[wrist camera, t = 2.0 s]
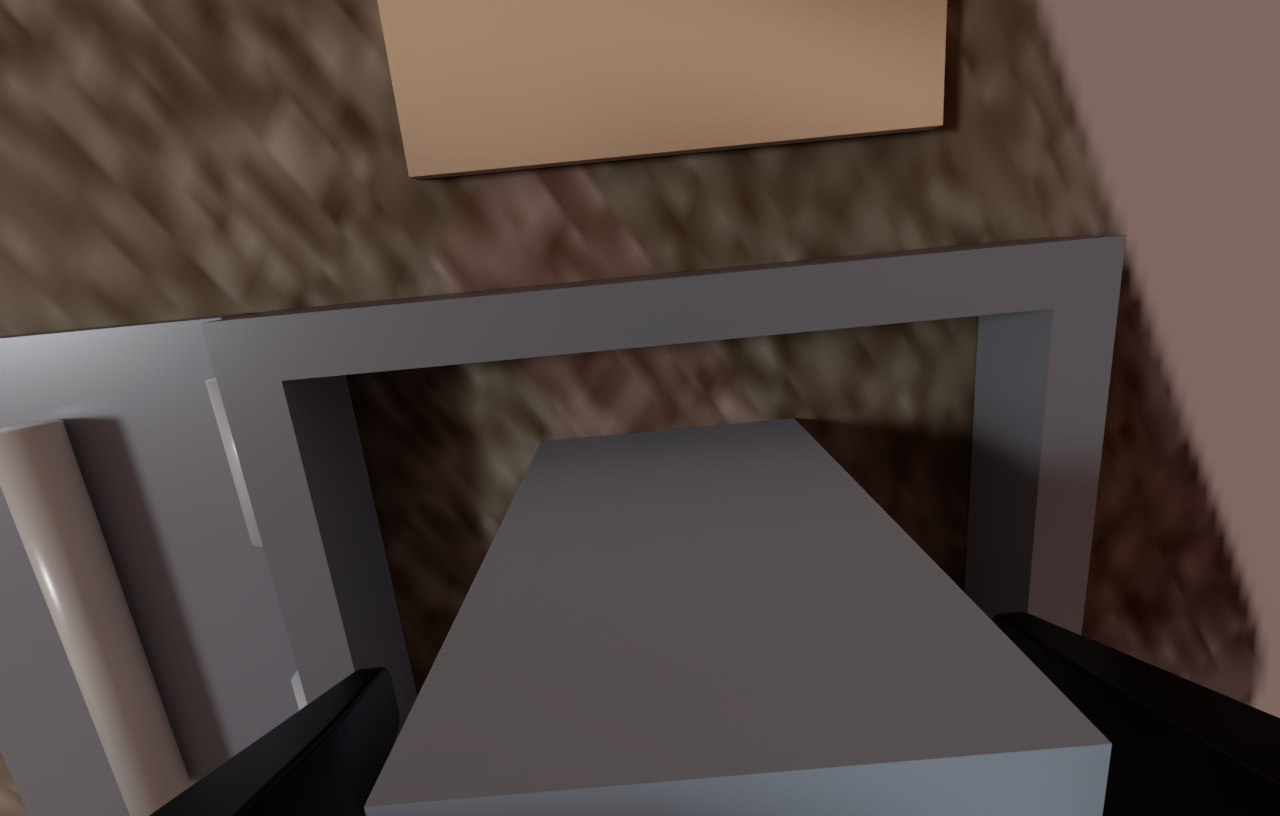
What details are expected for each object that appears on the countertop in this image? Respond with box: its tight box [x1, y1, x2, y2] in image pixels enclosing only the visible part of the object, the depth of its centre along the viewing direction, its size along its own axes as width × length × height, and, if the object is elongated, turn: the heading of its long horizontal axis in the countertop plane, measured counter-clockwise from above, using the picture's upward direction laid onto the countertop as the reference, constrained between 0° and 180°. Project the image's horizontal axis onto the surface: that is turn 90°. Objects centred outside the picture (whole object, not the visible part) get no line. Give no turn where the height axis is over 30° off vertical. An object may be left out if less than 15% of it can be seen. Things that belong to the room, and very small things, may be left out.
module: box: [364, 418, 1112, 816], centre depth 8 cm, size 5×5×8 cm
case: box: [0, 235, 1126, 816], centre depth 11 cm, size 11×22×2 cm, turn 95°
